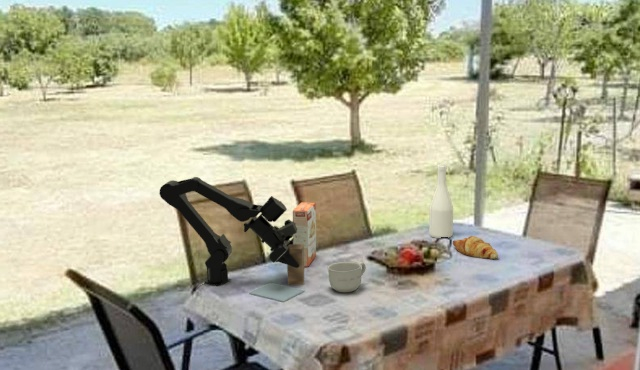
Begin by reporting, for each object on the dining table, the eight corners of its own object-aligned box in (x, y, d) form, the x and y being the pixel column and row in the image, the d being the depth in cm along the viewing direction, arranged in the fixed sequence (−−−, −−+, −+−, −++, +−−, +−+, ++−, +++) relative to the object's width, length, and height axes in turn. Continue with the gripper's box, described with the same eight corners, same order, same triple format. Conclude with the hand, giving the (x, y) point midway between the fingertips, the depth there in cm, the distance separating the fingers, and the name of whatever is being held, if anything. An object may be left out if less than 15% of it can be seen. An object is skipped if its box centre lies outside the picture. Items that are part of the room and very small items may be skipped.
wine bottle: (429, 238, 267) (430, 166, 262) (429, 232, 277) (430, 162, 271) (452, 239, 266) (454, 166, 260) (452, 233, 275) (453, 162, 269)
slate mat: (248, 293, 209) (248, 292, 209) (270, 283, 218) (270, 282, 217) (283, 302, 201) (283, 301, 201) (304, 291, 210) (304, 290, 210)
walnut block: (287, 285, 216) (286, 248, 214) (289, 280, 221) (288, 244, 219) (302, 285, 216) (301, 248, 213) (304, 280, 221) (303, 244, 218)
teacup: (338, 297, 204) (338, 273, 202) (322, 287, 213) (321, 263, 212) (376, 289, 210) (376, 265, 209) (359, 279, 220) (358, 257, 218)
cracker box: (309, 267, 234) (308, 210, 230) (293, 266, 235) (291, 210, 231) (317, 256, 247) (316, 201, 243) (301, 255, 248) (300, 201, 244)
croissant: (502, 267, 240) (509, 247, 241) (487, 260, 234) (494, 239, 235) (457, 254, 256) (463, 234, 257) (442, 246, 250) (449, 227, 251)
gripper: (278, 221, 205) (314, 255, 206) (286, 208, 223) (319, 239, 225) (254, 245, 207) (290, 279, 208) (264, 230, 226) (296, 261, 227)
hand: (299, 263), depth 217 cm, fingers open, 7 cm apart
